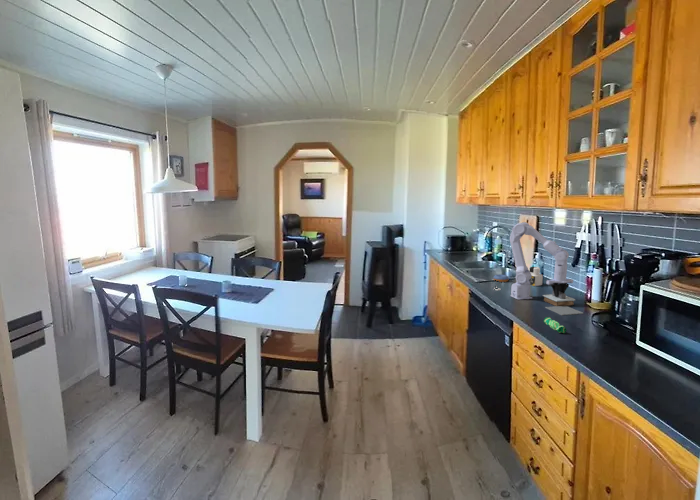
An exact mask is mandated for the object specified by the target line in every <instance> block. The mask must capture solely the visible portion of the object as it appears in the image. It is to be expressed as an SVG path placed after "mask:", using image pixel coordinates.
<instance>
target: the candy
mask: <svg viewBox="0 0 700 500" xmlns="http://www.w3.org/2000/svg"><path fill="white" fill-rule="evenodd" d="M543 323H544V324H546V325H547V326H549V327H550V328H551V329H553V330H554V331H557V333H563V334H565V333H566V331H567V328H566V327H565V326H564V325H561V324H560V323H559V322H558V321H556V320H554V319H552V318H551V317H550V316H547V317H545V318H544V319H543Z"/></svg>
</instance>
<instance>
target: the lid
mask: <svg viewBox="0 0 700 500" xmlns="http://www.w3.org/2000/svg"><path fill="white" fill-rule="evenodd" d="M542 297H543V298H544V297H547V298H549V299H551V300H554V301H556V302H562V301H574V302H575V301H576V298H573V297H570V296H567V294H566V292H565V293H562V292H560V291H559V295H558V297H556V296H554V291H553V290H552V293H551V294H542Z"/></svg>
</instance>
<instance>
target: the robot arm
mask: <svg viewBox="0 0 700 500" xmlns="http://www.w3.org/2000/svg"><path fill="white" fill-rule="evenodd" d="M524 235H525V236H531V237H533V238H534V239H535V240H537V241H538V242H539V243H540V244H542V246H543V249H544V250H545V251H547V253H549V254H550V255H551V256H553V258H554V259H555V264H554V273H553V278H551V279H547V280H546V281H545V283H546V285H548V286H549V285H550V286H551V289H552V291H554V296H556V297H558V295H559V291H560V292H562V293H565V294H566V290H567V289H568V287H569V286H570V284H573V283H574V279H571V278H567V273H568V272H567V271H568V258H569V255H570V254H569V252H568V250H566V249H564V247H560V246H559V245H558V244H557V242H556V241H555V240H549V239H547V238H546V237H545V236H543V235H542V234H541V233H540V232H539V231H538V230H537V229H536V228H534V226H532V225H530V224H529V223H527V222H525V221H523V222H518V223H516V224H514V226H513V227H511V233H510V235H509V242H510V246H511V250H512V255H513V259H514V262H515V267H516V270H515V283H512V284H511V287H510V291H511V292H510V297H512V298H514V299H516V300H519V301H520V300H532V299H533V297H532V296H530V295H531V294H530V291H531V285H530V281H529V280H530V279H531V277H532V275H531V273H530V272H529V271H530V269H529V267H528V266H527V265H526V263H527V262H526V259H525V256H524V251H523V247H522V243H521V239H522V237H523V236H524Z"/></svg>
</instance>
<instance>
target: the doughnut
mask: <svg viewBox="0 0 700 500" xmlns="http://www.w3.org/2000/svg"><path fill="white" fill-rule="evenodd" d="M492 278H493V281H495V280H496V281H495V282H497V281H499V283H506V282H509V276H508V275H506V274H495V275H494V276H493V277H492Z"/></svg>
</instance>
